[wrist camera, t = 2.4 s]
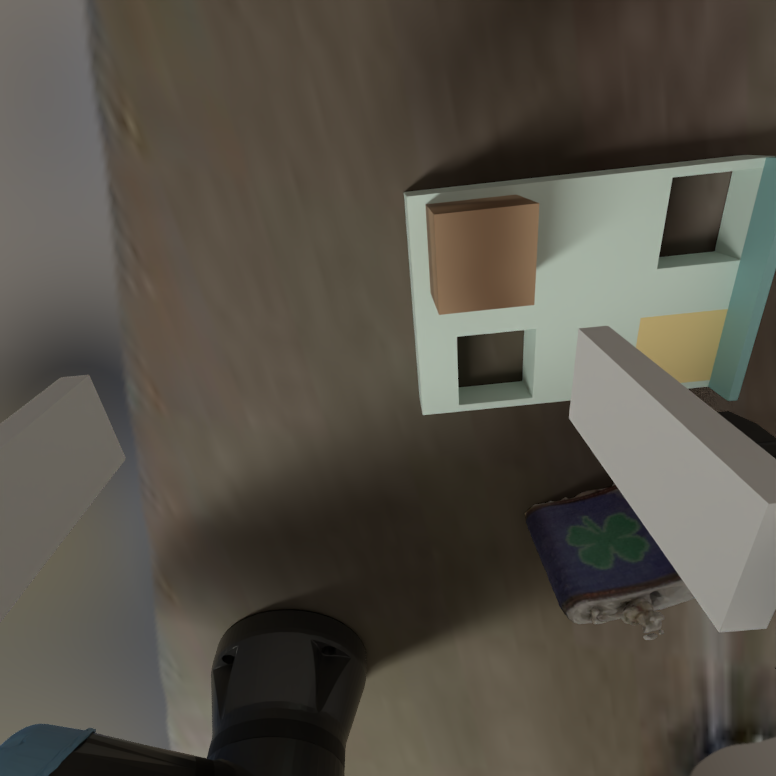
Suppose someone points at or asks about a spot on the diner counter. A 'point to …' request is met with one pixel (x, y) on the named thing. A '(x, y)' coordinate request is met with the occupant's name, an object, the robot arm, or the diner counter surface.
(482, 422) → the diner counter surface
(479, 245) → the walnut block
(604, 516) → the flask
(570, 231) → the board
